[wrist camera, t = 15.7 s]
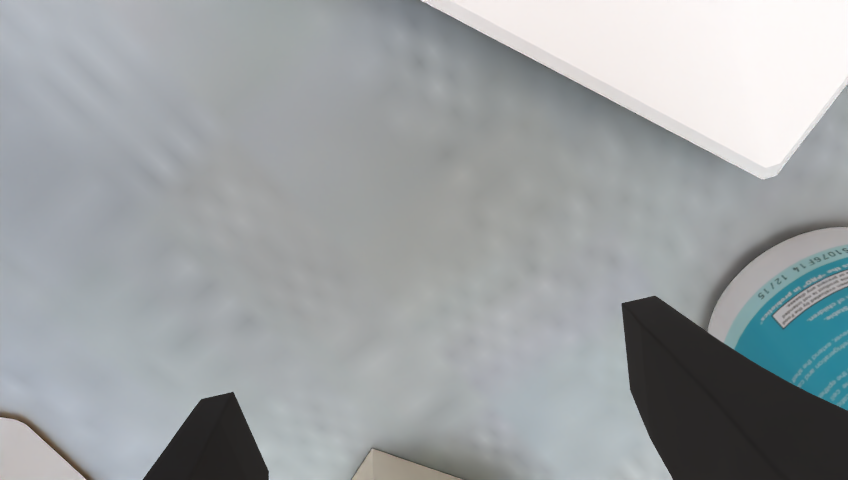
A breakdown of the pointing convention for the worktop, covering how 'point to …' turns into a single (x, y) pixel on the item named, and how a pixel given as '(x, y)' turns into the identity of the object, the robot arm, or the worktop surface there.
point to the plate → (690, 63)
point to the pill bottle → (793, 313)
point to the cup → (30, 455)
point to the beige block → (395, 469)
